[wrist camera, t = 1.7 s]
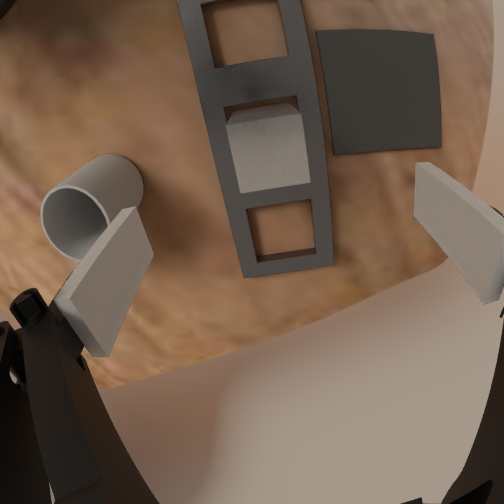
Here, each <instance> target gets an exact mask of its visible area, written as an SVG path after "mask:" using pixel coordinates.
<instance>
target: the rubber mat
mask: <svg viewBox="0 0 504 504" xmlns="http://www.w3.org/2000/svg"><path fill="white" fill-rule="evenodd" d="M315 32H316V37H317V42H318V48H319V53H320V59H321V65H322V71H323V77H324V83H325V90H326V97H327V104H328V112H329V119H330V128H331V136H332V145H333V154H334V155H340V154H349V153H359V152H369V151H381V150H393V149H407V148H424V147H441V103H440V86H439V74H438V64H437V56H436V48H435V41H434V34H427V33H418V32H407V31H393V30H361V29H354V30H322V31H315Z"/></svg>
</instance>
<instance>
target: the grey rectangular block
mask: <svg viewBox="0 0 504 504" xmlns="http://www.w3.org/2000/svg"><path fill="white" fill-rule="evenodd" d="M226 130H227V135H228V139H229V144H230V148H231V153H232V157H233V162H234V166H235V171H236V175H237V180H238V184H239V189H240V193H247V192H253V191H259V190H265V189H272V188H278V187H284V186H291V185H298V184H305V183H310V174H309V166H308V158H307V151H306V144H305V136H304V130H303V123H302V116H301V113H300V112H299V111H298V110H297V109H296V108H294V107H293V106H292V105H291V104H290V103H289V102H288V103H281V104H274V105H267V106H261V107H255V108H249V109H244V110H238V111H234V112H233V113H232V115H231V117H230V119H229V121H228V122H227V124H226Z"/></svg>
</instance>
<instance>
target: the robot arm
mask: <svg viewBox="0 0 504 504" xmlns="http://www.w3.org/2000/svg"><path fill="white" fill-rule="evenodd" d="M14 2H15V0H0V19H1V18H2V17H3V16H4V14H5V13H6V12H7V11H8V10H9V8H10V7H11V6H12V4H13V3H14ZM414 217H415V218H416V219H417V220H418V222H419V223H420V224H421V225H422V226H423V227H424V228H425V229H426V231H427V232H428V233H429V234H430V235H431V237H432V238H433V239H434V240H435V241H436V242H437V244H438V245H439V246H440V247H441V249H442V250H443V251H444V252H445V253H446V255H447V256H448V257H449V258H450V260H451V261H452V262H453V264H454V265H455V266H456V267H457V269H458V270H459V271H460V273H461V274H462V275H463V276H464V278H465V279H466V280H467V282H468V283H469V285H470V286H471V287H472V289H473V290H474V292H475V293H476V294H477V296H478V297H479V298H480V300H481V302H482V303H483V304H488V303H491V302H494V301H497V300H499V298H500V295H501V292H502V290H503V287H504V216H503V215H502V214H501V213H500V212H499V211H498V210H496V209H495V208H493V207H491V206H489V205H488V204H487V203H485V202H484V201H483V200H482V199H480V198H479V197H478V196H476V195H475V194H474V193H473V192H471V191H470V190H469V189H467V188H466V187H464V186H463V185H462V184H460V183H459V182H458V181H456V180H455V179H453V178H452V177H451V176H449V175H448V174H446V173H445V172H443V171H442V170H440V169H439V168H437V167H436V166H434V165H433V164H431V163H430V162H420V163H415V199H414ZM153 256H154V253H153V250H152V248H151V245H150V243H149V240H148V238H147V235H146V232H145V230H144V227H143V224H142V222H141V219H140V216H139V213H138V211H137V208H136V206H134V207H130V208H126V209H122V210H121V211H120V213H119V214H118V215H117V216H116V217H115V219H114V220H113V221H112V222H111V223H110V225H109V226H108V227H107V228H106V230H105V231H104V232H103V233H102V235H101V236H100V237H99V238H98V240H97V241H96V242H95V243H94V245H93V246H92V247H91V249H90V250H89V251H88V252H87V254H86V255H85V256H84V258H83V259H82V260H81V262H80V263H79V264H78V266H77V267H76V269H75V270H74V271H73V272H72V273H71V274H70V276H69V277H68V278H67V280H66V282H65V283H64V284H63V285H62V288H61V289H60V290H59V291H58V293H57V294H56V296H55V297H54V299H53V300H52V301H51V303H50V304H49V306H47V304H46V303H45V301H44V300H43V298H42V296H41V295H40V293H39V292H38V290H37V289H36V288H31V289H28V290H26V291H24V292H22V293H21V294H20V295H18V296H17V297H16V298H15V299H14V300H13V302H12V303H11V305H10V308H9V309H10V311H11V312H12V314H13V315H14V317H15V318H16V320H17V321H18V322H19V324H20V325H21V327H22V328H20V329H17V330H14V329H13V328H12V327H11V325H10V324H9V322H8V321H3V322H1V323H0V504H52V502H51V495H50V487H49V482H50V485H51V488H52V491H53V494H54V498H55V503H54V504H159V502H158V501H157V499H156V498H155V496H154V495H153V494H152V492H151V490H150V489H149V487H148V486H147V484H146V482H145V481H144V479H143V478H142V476H141V474H140V473H139V471H138V469H137V468H136V466H135V464H134V462H133V461H132V459H131V457H130V455H129V454H128V452H127V450H126V448H125V446H124V444H123V442H122V441H121V439H120V437H119V435H118V433H117V431H116V429H115V427H114V425H113V423H112V421H111V419H110V417H109V415H108V412H107V410H106V408H105V406H104V404H103V401H102V399H101V397H100V395H99V392H98V390H97V388H96V385H95V383H94V380H93V378H92V375H91V373H90V370H89V368H88V365H87V362H86V360H85V359H84V357H83V356H82V355H81V352H82V350H83V348H84V346H85V348H86V349H87V350H88V352H89V353H90V354H91V356H92V357H109V355H110V352H111V350H112V348H113V345H114V343H115V340H116V338H117V335H118V333H119V331H120V328H121V326H122V324H123V321H124V319H125V317H126V314H127V312H128V310H129V308H130V305H131V303H132V301H133V299H134V297H135V294H136V292H137V290H138V288H139V286H140V283H141V281H142V279H143V277H144V275H145V273H146V271H147V269H148V267H149V265H150V262H151V260H152V258H153ZM503 314H504V307H503V309H502V312H501V314H500V318H502V316H503ZM10 372H11V373H12V374H13V375H14V376H15V377H16V378H17V383H16V384H15V383H14V382H13V381H12V380H11V377H10ZM401 504H423V503H422V498H418V499H415V500H412V501H408V502H405V503H401ZM441 504H504V322H503V329H502V336H501V342H500V348H499V353H498V358H497V364H496V368H495V373H494V377H493V381H492V385H491V389H490V394H489V397H488V400H487V404H486V407H485V411H484V414H483V417H482V420H481V423H480V426H479V429H478V432H477V435H476V438H475V440H474V443H473V446H472V449H471V451H470V454H469V456H468V458H467V461H466V463H465V466H464V468H463V470H462V472H461V474H460V475H459V477H458V478H457V479H456V481H455V482H454V483H453V485H452V486H451V487H450V489H449V490H448V492H447V494H446V496H445V497H444V499H443V501H442V503H441Z"/></svg>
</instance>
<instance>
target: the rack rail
mask: <svg viewBox="0 0 504 504" xmlns="http://www.w3.org/2000/svg"><path fill="white" fill-rule="evenodd" d="M226 1H231V0H178V4H179V9H180V14H181V18H182V23H183V27H184V32H185V36H186V41H187V45H188V49H189V54H190V58H191V63H192V67H193V71H194V76H195V80H196V84H197V89H198V93H199V97H200V102H201V106H202V110H203V114H204V119H205V123H206V127H207V131H208V136H209V140H210V144H211V148H212V152H213V156H214V161H215V165H216V169H217V173H218V177H219V181H220V185H221V189H222V193H223V197H224V202H225V206H226V210H227V214H228V218H229V222H230V226H231V230H232V234H233V238H234V242H235V246H236V250H237V254H238V258H239V261H240V265H241V269H242V273H243V277H244V278H250V277H257V276H264V275H271V274H278V273H285V272H291V271H298V270H305V269H311V268H318V267H324V266H331V265H334V261H333V241H332V224H331V210H330V197H329V185H328V175H327V165H326V155H325V146H324V138H323V130H322V122H321V114H320V107H319V100H318V94H317V87H316V81H315V75H314V69H313V63H312V57H311V52H310V46H309V41H308V36H307V31H306V26H305V21H304V17H303V12H302V7H301V3H300V0H277V4H278V9H279V13H280V18H281V22H282V27H283V32H284V37H285V42H286V47H287V52H288V56H285V57H277V58H270V59H263V60H257V61H251V62H245V63H240V64H235V65H230V66H225V67H220V68H216V65H215V61H214V56H213V52H212V47H211V43H210V38H209V34H208V29H207V25H206V20H205V16H204V11H203V6H207V5H211V4H216V3H221V2H226ZM293 95H295V96H296V102H297V108H298V111H299V112H300V113H301V116H302V123H303V130H304V136H305V144H306V151H307V158H308V166H309V174H310V183H305V184H298V185H291V186H284V187H278V188H272V189H265V190H259V191H253V192H247V193H240V189H239V184H238V180H237V175H236V171H235V166H234V162H233V157H232V153H231V148H230V144H229V139H228V135H227V130H226V124H227V122H228V120H227V115H226V111H225V107H227V106H232V105H237V104H242V103H247V102H253V101H259V100H265V99H272V98H278V97H285V96H293ZM306 199H310V204H311V214H312V223H313V234H314V244H315V248H311V249H304V250H297V251H291V252H284V253H277V254H271V255H264V256H257V254H256V250H255V245H254V240H253V236H252V231H251V226H250V222H249V217H248V212H247V209H248V208H254V207H260V206H267V205H273V204H279V203H286V202H292V201H299V200H306Z"/></svg>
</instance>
